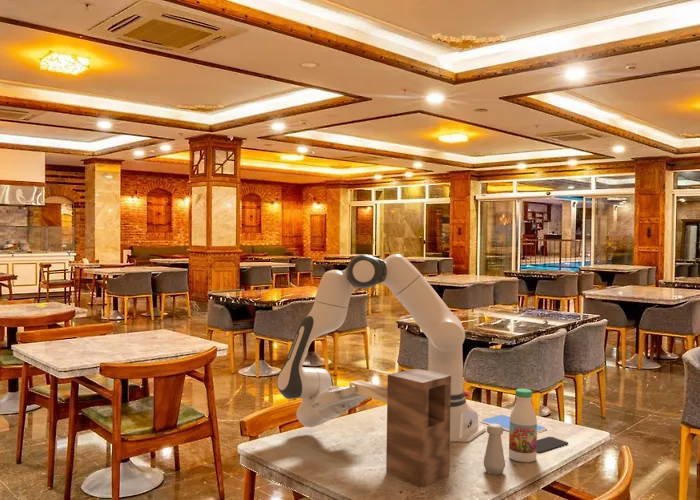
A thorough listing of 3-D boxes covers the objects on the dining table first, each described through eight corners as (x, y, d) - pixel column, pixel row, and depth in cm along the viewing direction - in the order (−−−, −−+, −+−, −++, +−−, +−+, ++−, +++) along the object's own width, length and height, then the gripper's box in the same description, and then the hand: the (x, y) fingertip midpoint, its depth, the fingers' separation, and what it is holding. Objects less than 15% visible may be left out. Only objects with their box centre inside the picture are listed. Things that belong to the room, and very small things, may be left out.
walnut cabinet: (414, 462, 175) (416, 368, 174) (449, 475, 166) (450, 375, 165) (386, 474, 166) (387, 374, 165) (421, 487, 158) (422, 382, 157)
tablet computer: (478, 423, 214) (478, 419, 214) (501, 417, 221) (502, 413, 221) (524, 438, 198) (524, 434, 198) (548, 431, 206) (548, 427, 206)
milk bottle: (505, 453, 183) (506, 386, 182) (530, 453, 184) (531, 386, 183) (514, 463, 175) (515, 393, 175) (540, 463, 176) (542, 393, 175)
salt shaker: (505, 477, 165) (506, 428, 165) (483, 475, 167) (484, 427, 166) (504, 468, 171) (505, 422, 171) (483, 467, 172) (484, 420, 172)
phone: (519, 445, 189) (549, 436, 198) (519, 447, 189) (549, 438, 198) (539, 452, 183) (569, 442, 192) (538, 455, 183) (569, 445, 192)
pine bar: (358, 389, 185) (359, 379, 185) (421, 406, 168) (421, 395, 167) (349, 392, 182) (349, 382, 182) (412, 409, 165) (412, 398, 165)
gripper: (304, 397, 183) (332, 382, 175) (353, 386, 198) (381, 371, 189) (311, 418, 181) (340, 403, 173) (360, 405, 196) (389, 390, 187)
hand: (362, 386), depth 181 cm, fingers closed on pine bar, 4 cm apart
